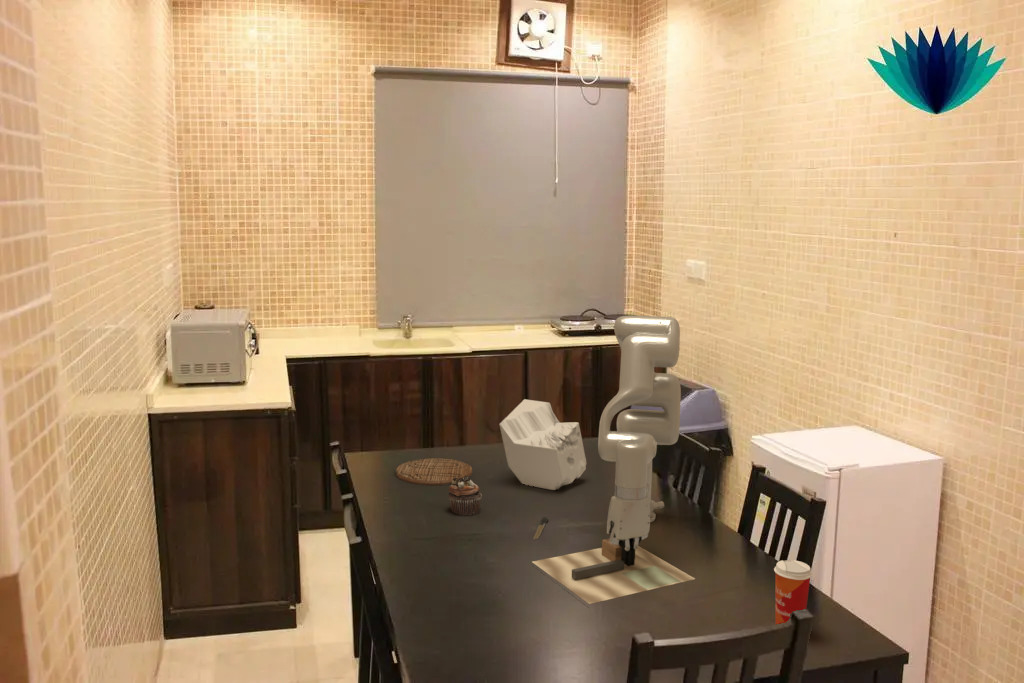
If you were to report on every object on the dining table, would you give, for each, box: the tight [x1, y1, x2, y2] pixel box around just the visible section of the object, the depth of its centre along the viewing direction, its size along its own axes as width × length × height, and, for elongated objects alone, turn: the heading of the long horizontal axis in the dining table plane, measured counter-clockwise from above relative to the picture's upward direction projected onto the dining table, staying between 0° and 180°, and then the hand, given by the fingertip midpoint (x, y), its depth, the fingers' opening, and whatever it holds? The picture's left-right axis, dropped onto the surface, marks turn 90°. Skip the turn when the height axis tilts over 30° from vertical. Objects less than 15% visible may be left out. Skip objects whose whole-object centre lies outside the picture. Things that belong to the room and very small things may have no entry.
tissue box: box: [498, 398, 588, 491], centre depth 279 cm, size 20×16×25 cm
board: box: [532, 545, 696, 609], centre depth 213 cm, size 30×26×1 cm
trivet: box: [396, 457, 473, 486], centre depth 291 cm, size 25×25×2 cm
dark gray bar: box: [572, 559, 624, 580], centre depth 210 cm, size 14×2×2 cm, turn 118°
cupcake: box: [448, 476, 483, 516], centre depth 255 cm, size 10×10×10 cm
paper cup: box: [773, 559, 813, 625], centre depth 186 cm, size 8×8×14 cm
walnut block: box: [601, 537, 621, 561], centre depth 221 cm, size 6×6×4 cm
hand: (627, 563), depth 214 cm, fingers closed
